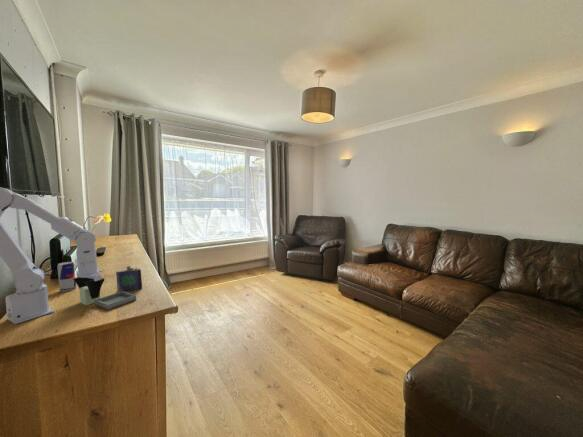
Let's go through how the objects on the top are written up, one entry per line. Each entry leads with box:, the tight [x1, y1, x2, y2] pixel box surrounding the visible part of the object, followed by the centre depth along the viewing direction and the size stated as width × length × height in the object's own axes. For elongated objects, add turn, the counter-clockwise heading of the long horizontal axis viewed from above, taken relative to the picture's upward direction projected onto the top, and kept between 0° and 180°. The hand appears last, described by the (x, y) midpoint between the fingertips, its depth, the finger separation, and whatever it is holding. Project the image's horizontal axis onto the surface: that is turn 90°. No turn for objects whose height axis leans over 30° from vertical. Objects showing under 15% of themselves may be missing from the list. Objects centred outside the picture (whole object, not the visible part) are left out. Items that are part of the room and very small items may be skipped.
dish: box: [94, 291, 137, 311], centre depth 91 cm, size 10×10×2 cm
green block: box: [78, 286, 101, 306], centre depth 92 cm, size 4×4×6 cm
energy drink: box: [56, 261, 77, 293], centre depth 105 cm, size 5×5×12 cm
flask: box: [115, 265, 143, 293], centre depth 104 cm, size 9×3×11 cm, turn 109°
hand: (90, 296), depth 92 cm, fingers open, 7 cm apart
